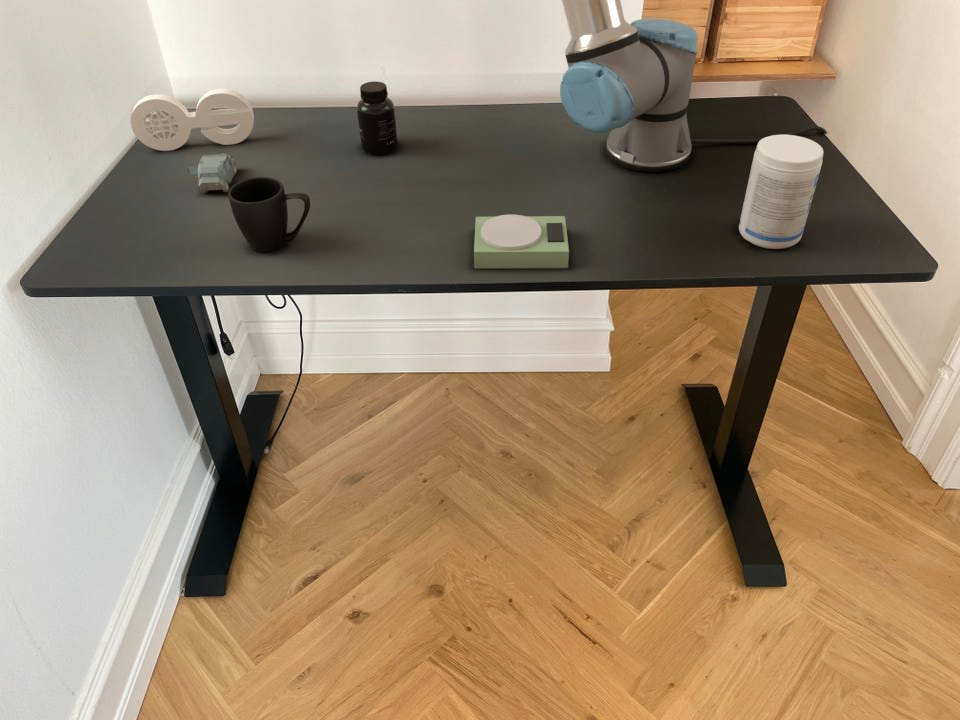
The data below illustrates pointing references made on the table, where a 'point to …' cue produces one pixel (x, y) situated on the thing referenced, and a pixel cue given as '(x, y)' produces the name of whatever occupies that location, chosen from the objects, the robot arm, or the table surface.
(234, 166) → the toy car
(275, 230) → the mug
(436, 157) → the table surface
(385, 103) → the supplement bottle
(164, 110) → the white double disc plate
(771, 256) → the table surface
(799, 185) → the supplement tub
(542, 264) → the scale
